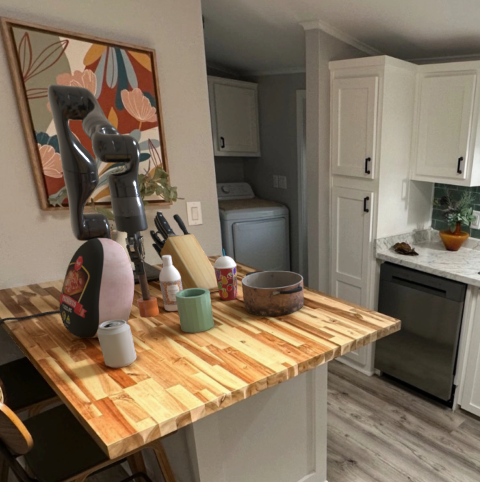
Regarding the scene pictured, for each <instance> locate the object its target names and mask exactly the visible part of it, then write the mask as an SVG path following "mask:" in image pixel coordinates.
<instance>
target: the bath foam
mask: <svg viewBox="0 0 480 482" xmlns="http://www.w3.org/2000/svg"><path fill="white" fill-rule="evenodd" d="M161 261H162V265H163V266H162V268H161V270H160V271H159V276H158V278H159V279H158V281H159V286H160V291H161V296H162V300H163V301H162V302H163V307H164V310H165V311H167V312H178V308H177V302H176V296H175V295H176V293H177V292H179V291H181V290H183V288H182V282H181V276H180V274H179V272H178V271H177V269H176V268H175V267H174V266H173V265H172V259H171V255H164V256H162V259H161Z"/></svg>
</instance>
